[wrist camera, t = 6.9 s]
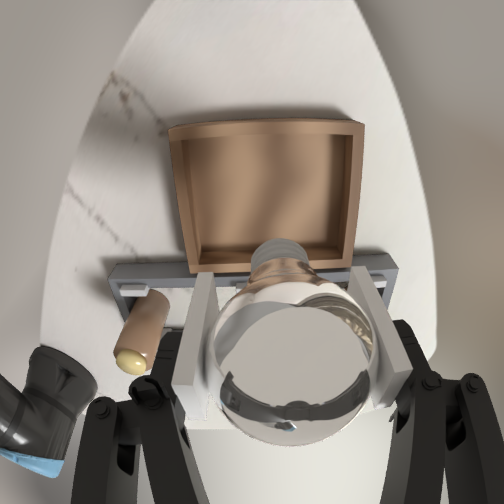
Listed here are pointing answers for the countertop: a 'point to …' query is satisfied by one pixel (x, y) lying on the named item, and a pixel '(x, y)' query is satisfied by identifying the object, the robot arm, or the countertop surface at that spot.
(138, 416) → the robot arm
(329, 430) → the light bulb
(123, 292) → the holder
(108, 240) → the countertop surface
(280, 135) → the tray
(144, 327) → the cylinder
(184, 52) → the countertop surface
